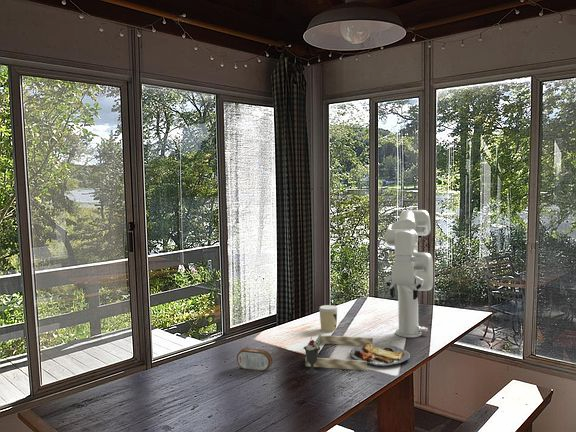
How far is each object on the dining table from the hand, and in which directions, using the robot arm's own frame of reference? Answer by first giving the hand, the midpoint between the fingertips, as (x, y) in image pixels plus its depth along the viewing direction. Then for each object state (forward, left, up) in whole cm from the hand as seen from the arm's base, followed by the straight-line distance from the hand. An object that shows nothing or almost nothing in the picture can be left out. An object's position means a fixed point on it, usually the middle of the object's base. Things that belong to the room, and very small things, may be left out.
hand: (403, 298), depth 212 cm
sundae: (+35, +29, -25) cm, 52 cm away
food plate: (+10, +7, -25) cm, 28 cm away
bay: (+27, +7, -25) cm, 38 cm away
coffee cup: (+38, -29, -25) cm, 54 cm away
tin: (+59, +30, -25) cm, 71 cm away
